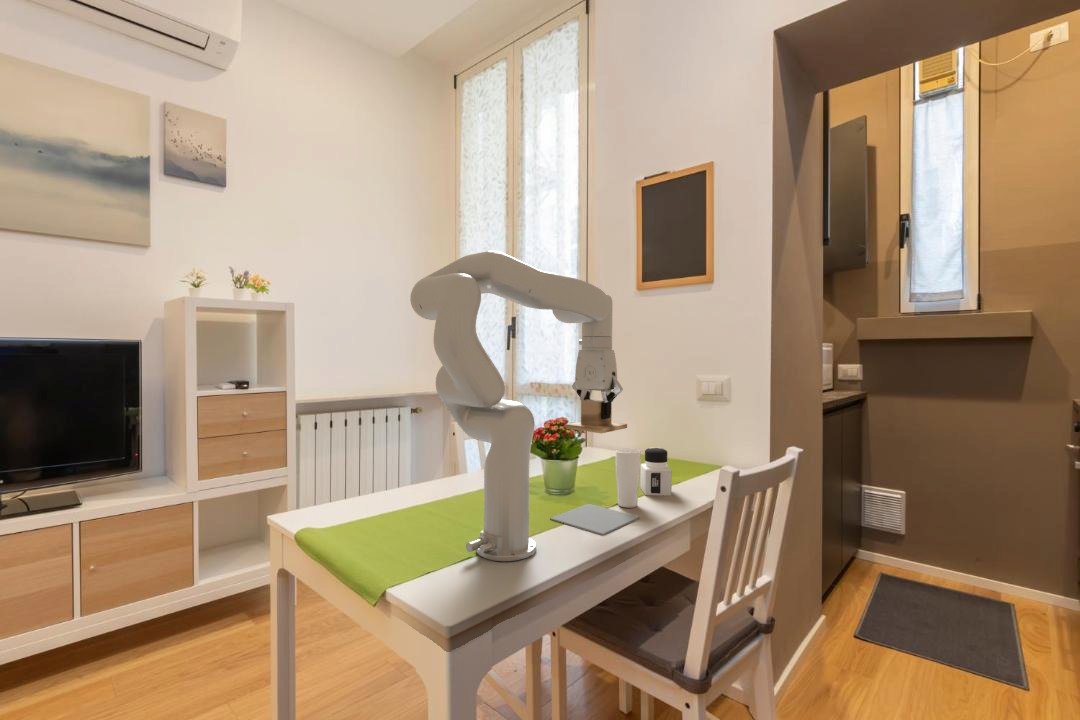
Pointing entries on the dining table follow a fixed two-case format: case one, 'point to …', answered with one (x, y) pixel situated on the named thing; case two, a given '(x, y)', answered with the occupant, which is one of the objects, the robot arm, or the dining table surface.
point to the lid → (594, 418)
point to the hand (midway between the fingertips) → (596, 416)
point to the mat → (595, 519)
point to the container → (656, 473)
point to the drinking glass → (627, 476)
